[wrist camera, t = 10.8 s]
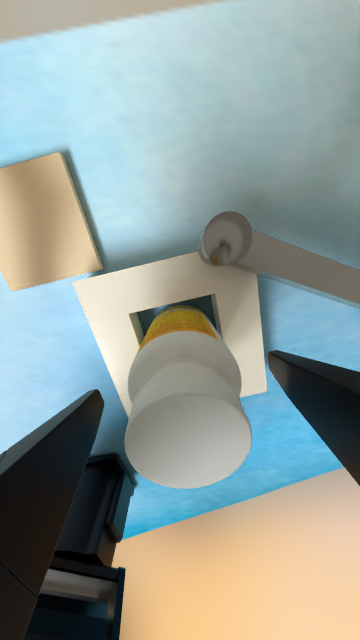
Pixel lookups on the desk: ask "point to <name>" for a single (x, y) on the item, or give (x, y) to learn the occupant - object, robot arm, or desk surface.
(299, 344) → the desk surface
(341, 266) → the latch arm
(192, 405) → the supplement bottle
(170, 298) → the socket housing
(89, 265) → the coaster
